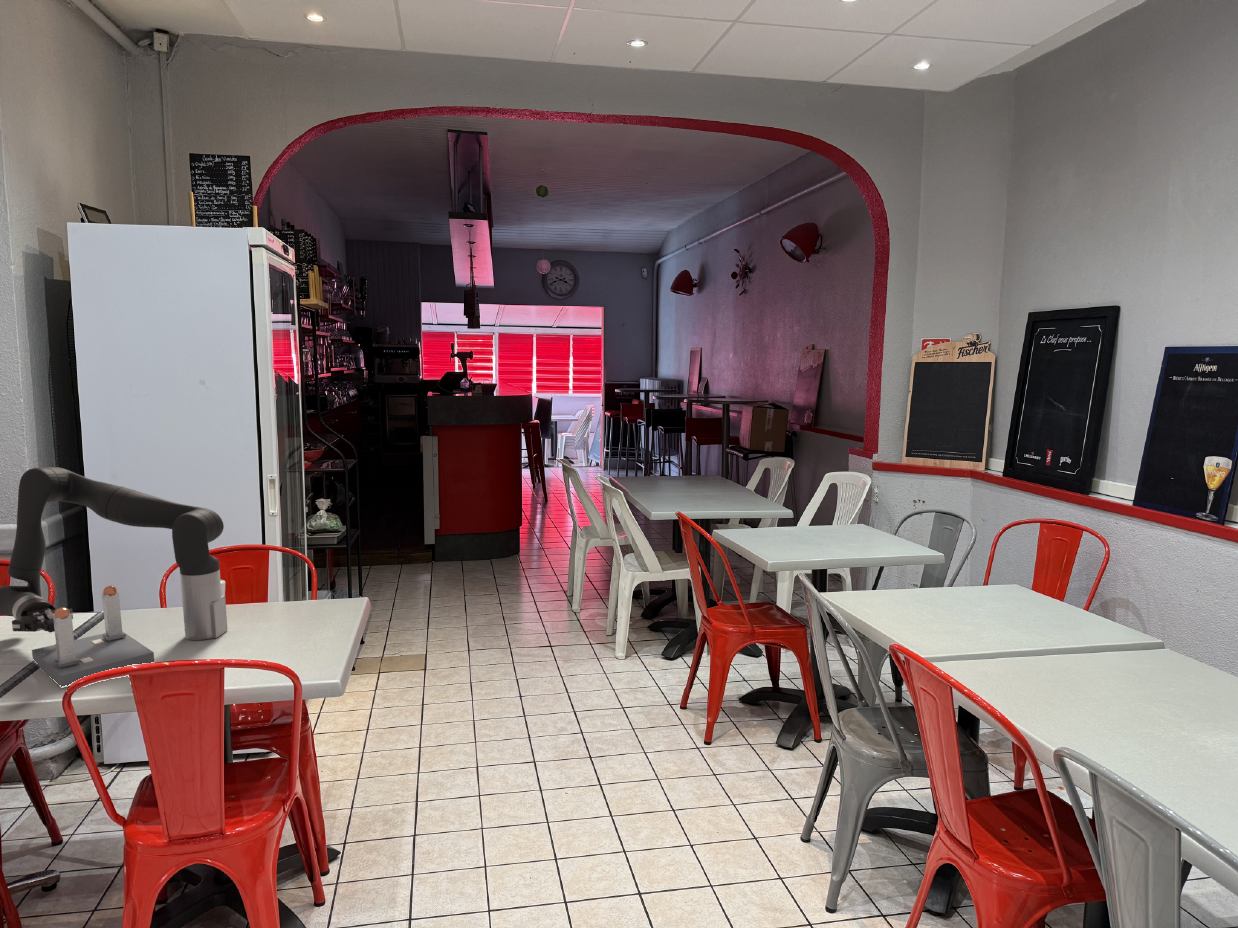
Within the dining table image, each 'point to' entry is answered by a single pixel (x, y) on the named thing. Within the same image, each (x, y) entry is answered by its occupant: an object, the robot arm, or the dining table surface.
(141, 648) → the switch box
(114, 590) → the lever inner
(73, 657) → the lever edge
